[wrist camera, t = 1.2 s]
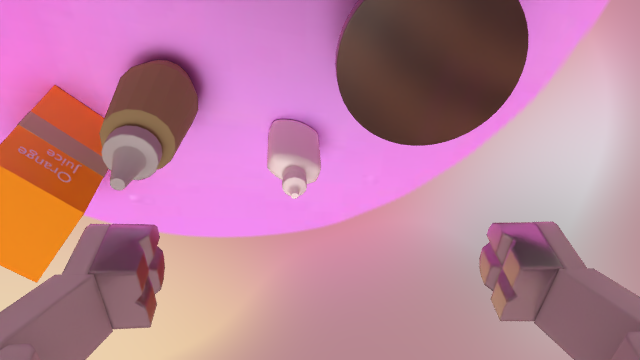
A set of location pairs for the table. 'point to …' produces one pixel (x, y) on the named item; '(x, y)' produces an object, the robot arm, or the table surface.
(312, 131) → the eye dropper bottle
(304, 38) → the table surface
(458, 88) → the little table
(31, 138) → the orange juice
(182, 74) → the squeeze bottle
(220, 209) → the table surface
